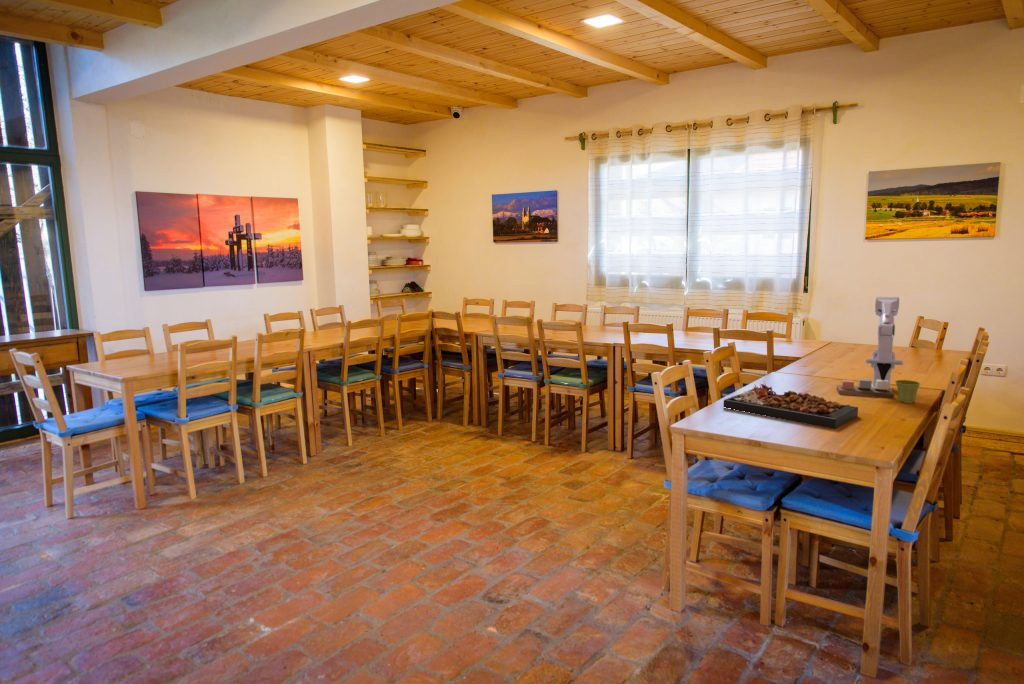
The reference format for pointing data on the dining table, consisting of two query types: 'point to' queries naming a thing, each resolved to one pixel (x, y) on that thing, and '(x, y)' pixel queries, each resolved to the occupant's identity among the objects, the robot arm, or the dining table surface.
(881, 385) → the ivory key
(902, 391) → the plant pot
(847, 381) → the brick key
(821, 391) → the dining table surface
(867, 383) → the slate key
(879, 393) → the brown flat board
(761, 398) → the food platter
